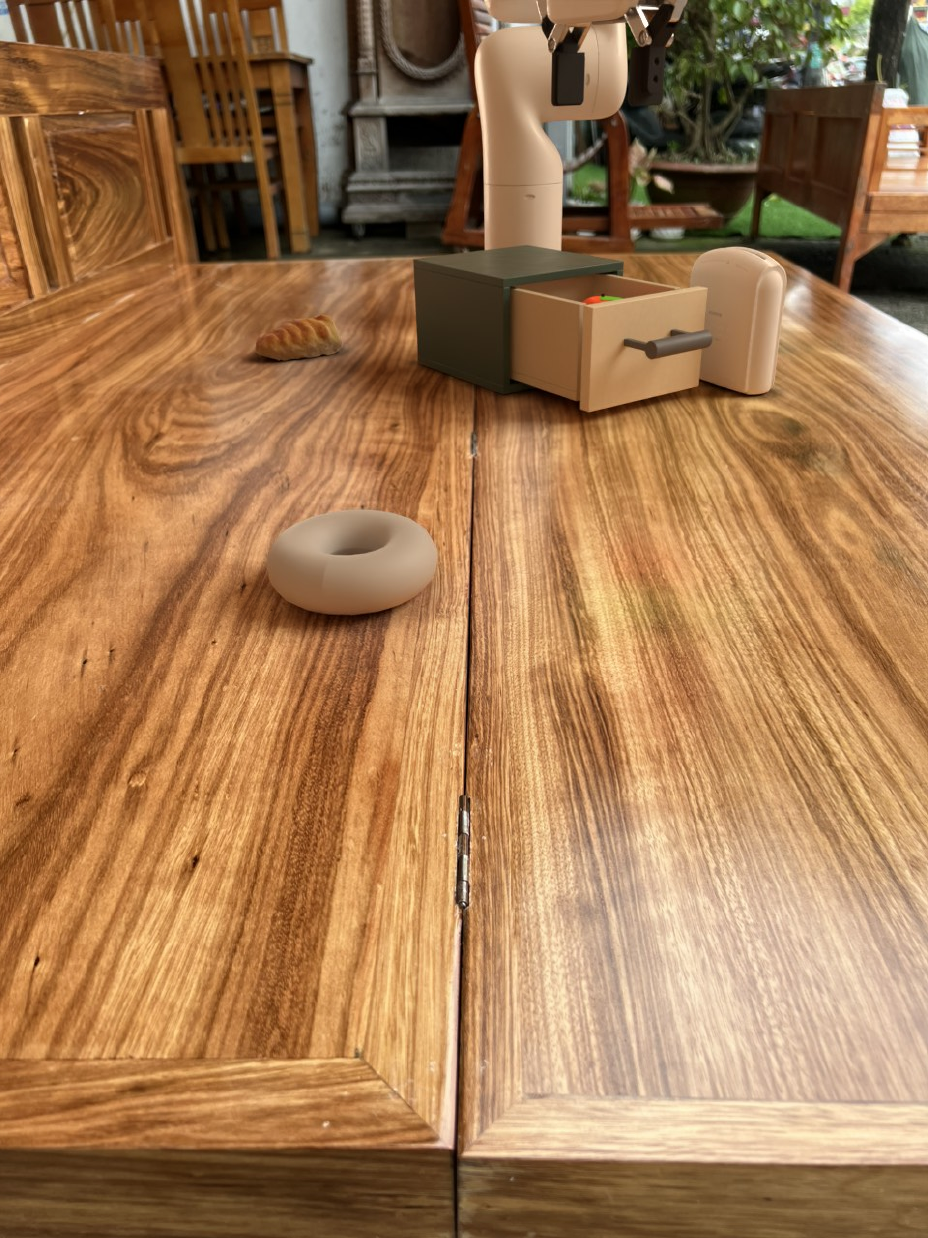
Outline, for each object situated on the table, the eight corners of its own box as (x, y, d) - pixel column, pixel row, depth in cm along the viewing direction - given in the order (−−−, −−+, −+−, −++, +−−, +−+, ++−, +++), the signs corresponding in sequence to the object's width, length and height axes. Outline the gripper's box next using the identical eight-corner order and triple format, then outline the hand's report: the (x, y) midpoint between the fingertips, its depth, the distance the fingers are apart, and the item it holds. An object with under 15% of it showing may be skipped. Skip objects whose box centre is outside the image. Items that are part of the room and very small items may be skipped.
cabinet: (618, 369, 98) (623, 261, 93) (503, 394, 91) (502, 278, 86) (526, 342, 110) (526, 244, 105) (417, 363, 103) (412, 258, 98)
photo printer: (675, 374, 96) (686, 243, 90) (709, 368, 98) (722, 239, 92) (743, 398, 88) (761, 257, 82) (780, 392, 90) (799, 252, 84)
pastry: (274, 366, 103) (269, 330, 101) (245, 356, 108) (240, 321, 106) (348, 351, 108) (345, 317, 106) (317, 342, 113) (313, 309, 111)
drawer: (733, 396, 86) (745, 294, 82) (621, 424, 80) (628, 315, 75) (595, 356, 100) (599, 267, 95) (491, 378, 93) (490, 284, 89)
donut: (433, 548, 61) (276, 553, 61) (432, 497, 60) (271, 502, 59) (444, 623, 53) (260, 630, 52) (443, 566, 51) (253, 573, 50)
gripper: (506, -137, 76) (506, 106, 84) (660, -186, 64) (643, 106, 72) (579, -129, 80) (572, 104, 88) (738, -174, 67) (713, 103, 75)
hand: (604, 105), depth 80 cm, fingers open, 9 cm apart
